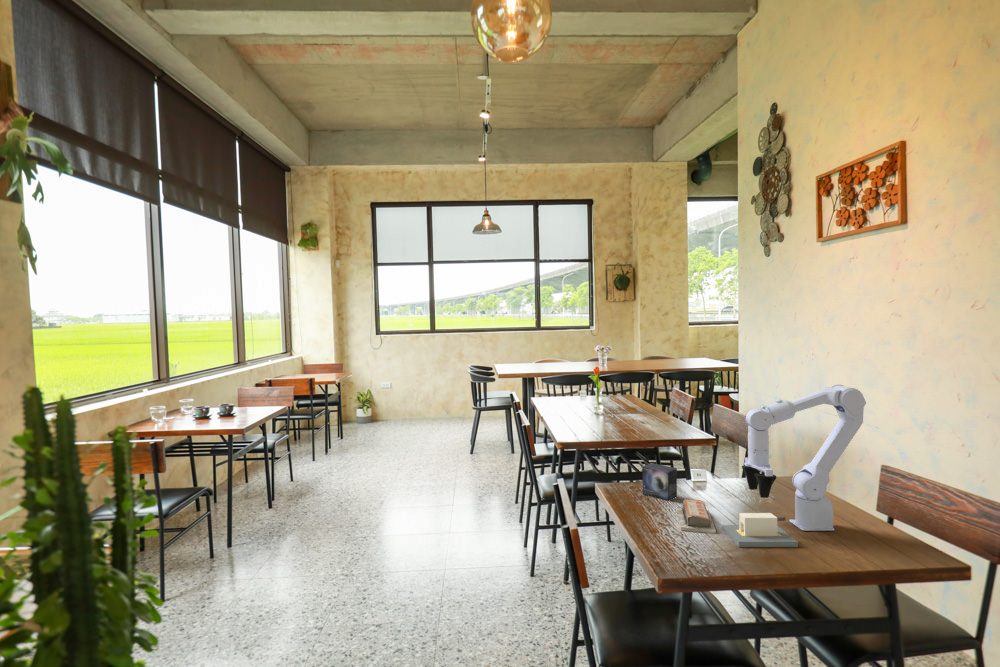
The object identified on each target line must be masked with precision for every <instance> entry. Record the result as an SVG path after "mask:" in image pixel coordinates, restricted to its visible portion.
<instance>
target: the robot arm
mask: <svg viewBox="0 0 1000 667" xmlns="http://www.w3.org/2000/svg"><path fill="white" fill-rule="evenodd" d="M866 404H867V401H866V400H865V397H864V394H863V392H861V391H860V390H859V389H858V388H855V387H847V386H845V385H842V384H834V385H831V386H827V387H824V388H822V389H821V388H820V389H819V390H817V391H814V392H811V393H809V394H807V395H804V396H802V397H799V398H796V399H794V400H792V401H789V400H786V399H783V400H782V399H780V398H779V399H775V402H774V403H771V404H769V405H768V404H767V405H766V406H765V405H761V406H760V409H758V408H752V409H750V410H749V411H748V412H747V413H746V415H745V417H744V419H745V423H746V424H747V425H748V426H747V432H748V433H747V457H744V463H743V464H744V465H742V466H741V469H742V470H743V473H744V475H745V478H746V482H747V486H748V489H749V490H750V491H752V490H753V491H754V490H755V491H756V490H758V493H759V496H760V498H761V499H762V498H763V499H765V498H767V499H768V498H769V496H770V492H771V489H772V487H773V484H774V483H775V481H776V479H777V475H775V474H774V470H773V469H772V467H771V464H770V447H769V446H770V445H769V438H770V436H769V429H770V428H771V426H773V425H776V424H778V423H782V422H784V421H787V420H790V419H793V418H794V417H795V415H796V413H797V412H801V411H804V410H808V409H811V408H814V407H818V406H821V405H830V406H832V407H833V408H835V410H836V413H837V415H838V418H839V420H838V421H837V423H836V425H834V427H833V428H832V430H831V431H830V433H829V435H828V436H827V437H826V439H825V440H824V442H823V444H822V445H821V446H820V448H819V449H818V451H817V452H816V454H815V456H814V457H813V458H812V460H811V462H809V463H807V464H804V465H803V467H802V468H801V469H800V470H799V471H797V472H795V473H794V474H793V475H792V479H791V480H792V482H791V483H792V485H793V487H795V489H796V490H795V493H794V498H795V499H794V511H795V512H794V515H795V518H794V519H790V518H789V520H788V521H789V522H790V523H791V524H793V525H794V526H795V527H797V528H798V529H799V530H801V531H805V532H806V531H807V532H808V531H809V532H810V531H813V532H814V531H821V532H822V531H823V532H824V531H826V532H827V531H830V532H831V531H835V530H836V529H835V528H834V507H833V506H834V505H833V503H832V501H831V499H830V498H829V497H828V496H825V495H826V492H827V486H828V484H829V483H830V472H831V471H832V470H833V468H834V466H835V465H837V464H836V463H837V462H838V461H839V459H840V458H841V457H842V454H843V453H844V452H845V450H846V449H847V447H848V446H849V444H850V443H851V441H853V438H854V437H855V435H856V434H857V432H858V431H859V429H860V428H861V427H862V424H863V422H864V411H865V410H864V408H865V406H866Z"/></svg>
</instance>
